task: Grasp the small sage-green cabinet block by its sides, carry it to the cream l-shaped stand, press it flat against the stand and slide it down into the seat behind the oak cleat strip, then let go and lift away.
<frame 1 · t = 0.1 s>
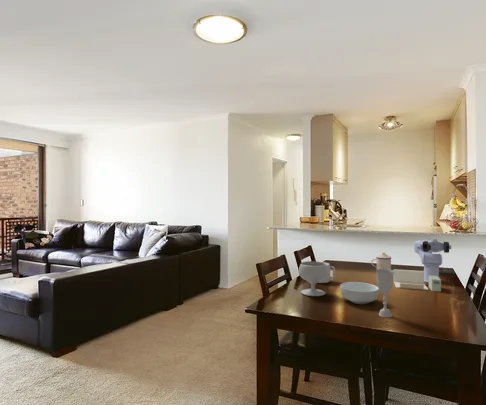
hand: (438, 247, 172), 22 cm above the table, tool horizontal, fingers open, 7 cm apart
chalice 2: (313, 293, 170), on the table
cream l-shaped stand: (410, 285, 181), on the table
cereal bowl: (359, 301, 156), on the table
chalice: (385, 315, 137), on the table
mug: (322, 281, 194), on the table
teacup with lid: (381, 270, 219), on the table
cabinet block: (434, 289, 175), on the table
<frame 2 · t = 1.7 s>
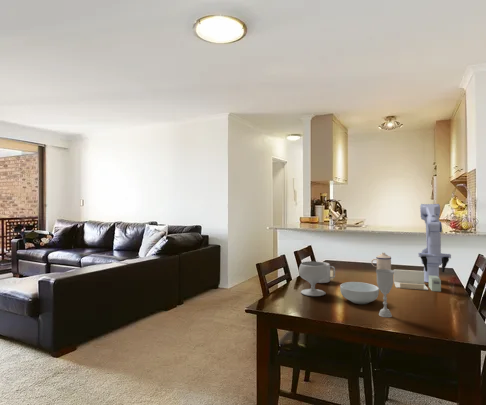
hand: (434, 271, 175), 9 cm above the table, tool pointing down, fingers open, 7 cm apart
nothing on the table moved.
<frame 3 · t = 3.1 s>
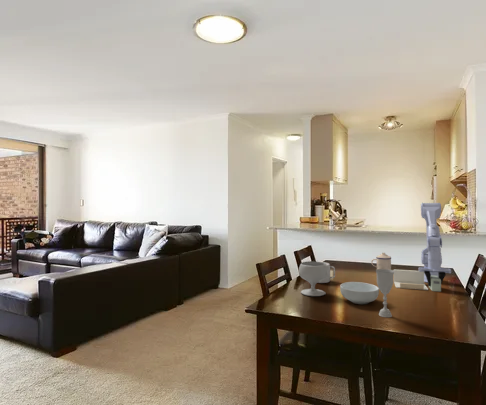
hand: (434, 286, 175), 1 cm above the table, tool pointing down, fingers closed on cabinet block, 4 cm apart
cabinet block: (434, 288, 175), on the table, touching gripper
everything else where it was.
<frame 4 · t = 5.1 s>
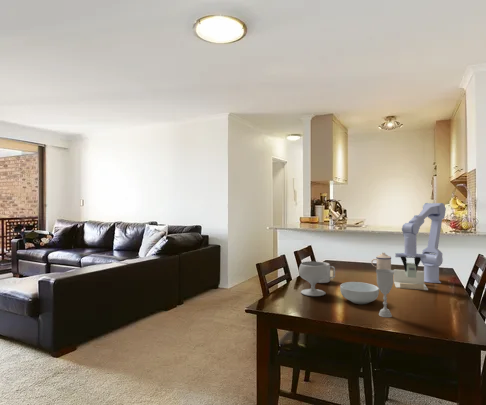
hand: (410, 271, 179), 8 cm above the table, tool pointing down, fingers closed on cabinet block, 4 cm apart
cabinet block: (410, 275, 179), point 6 cm above the table, touching gripper
everything else where it was.
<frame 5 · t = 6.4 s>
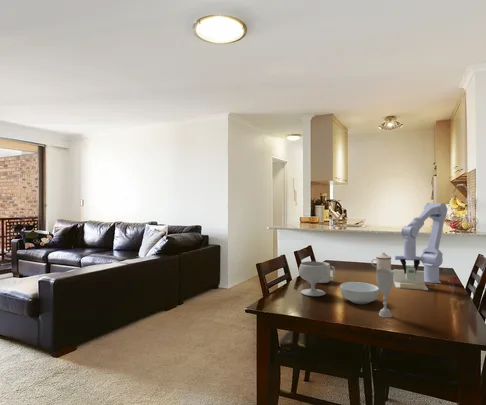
hand: (409, 273, 182), 6 cm above the table, tool pointing down, fingers closed on cabinet block, 4 cm apart
cabinet block: (410, 278, 181), point 4 cm above the table, touching gripper
everything else where it was.
when the fingers open (3 cm above the table, at t = 7.6 s): cabinet block stays where it is, resting on cream l-shaped stand.
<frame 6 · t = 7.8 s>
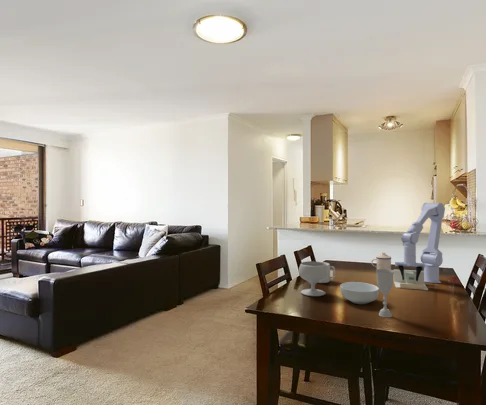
hand: (410, 280, 182), 3 cm above the table, tool pointing down, fingers open, 6 cm apart
cabinet block: (410, 284, 181), resting on cream l-shaped stand
everything else where it was.
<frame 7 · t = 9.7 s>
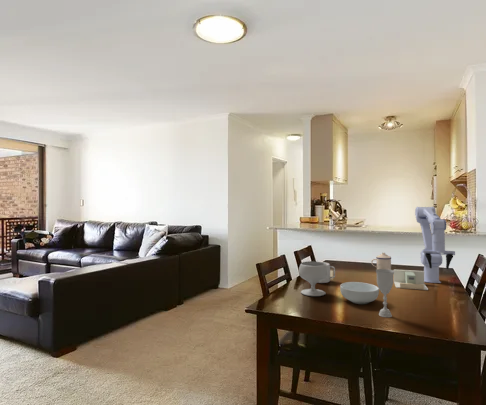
hand: (438, 268, 177), 10 cm above the table, tool pointing down, fingers open, 7 cm apart
nothing on the table moved.
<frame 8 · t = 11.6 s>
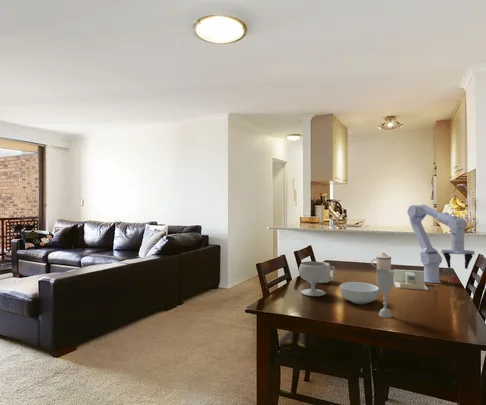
hand: (457, 268, 175), 10 cm above the table, tool pointing down, fingers open, 7 cm apart
nothing on the table moved.
at the end: cabinet block 0.2 cm off-centre on the cream l-shaped stand, point 0.5 cm above the cream l-shaped stand's base; cabinet block tilted 0°; the gripper is holding nothing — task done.
